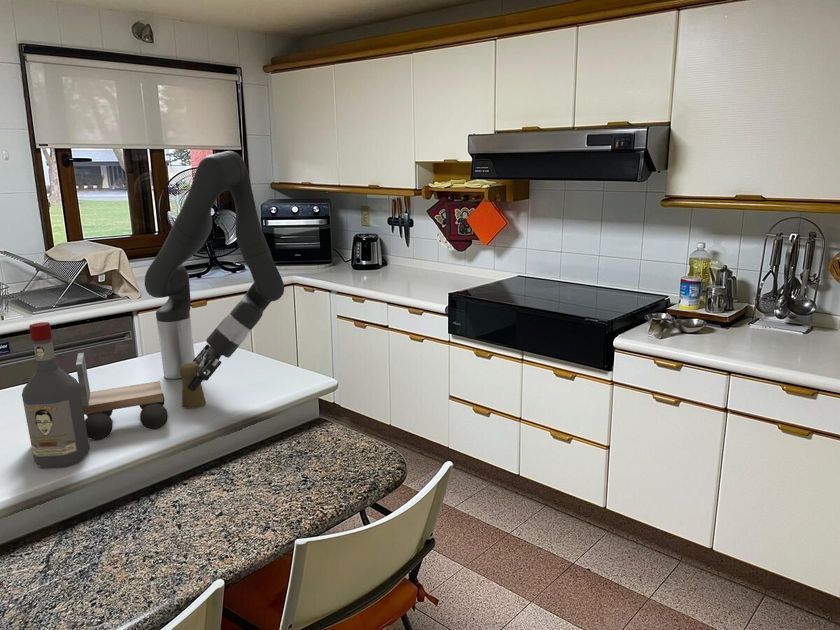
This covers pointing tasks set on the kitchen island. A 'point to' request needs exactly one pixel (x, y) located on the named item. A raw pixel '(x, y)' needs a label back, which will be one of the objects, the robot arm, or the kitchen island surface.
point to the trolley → (119, 403)
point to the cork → (190, 397)
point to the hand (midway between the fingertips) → (188, 384)
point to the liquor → (53, 407)
